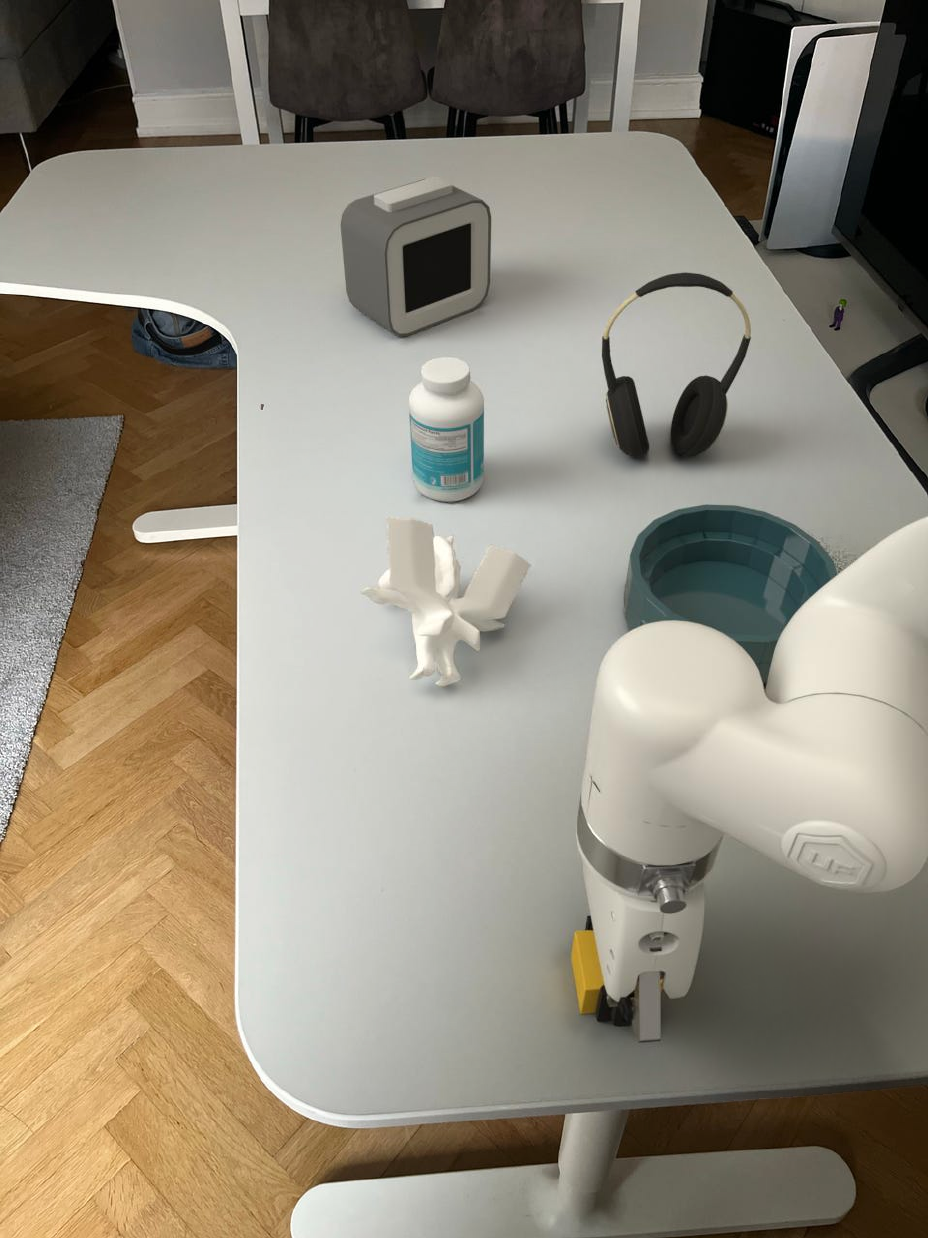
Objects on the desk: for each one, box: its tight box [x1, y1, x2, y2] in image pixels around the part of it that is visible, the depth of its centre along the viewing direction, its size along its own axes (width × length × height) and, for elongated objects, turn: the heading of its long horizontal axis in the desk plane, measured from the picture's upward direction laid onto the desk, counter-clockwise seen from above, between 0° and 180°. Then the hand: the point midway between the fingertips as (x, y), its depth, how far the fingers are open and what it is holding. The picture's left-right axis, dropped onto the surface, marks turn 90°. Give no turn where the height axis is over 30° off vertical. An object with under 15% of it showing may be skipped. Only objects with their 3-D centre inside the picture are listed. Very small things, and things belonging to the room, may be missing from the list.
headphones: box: [601, 271, 752, 458], centre depth 101 cm, size 9×15×20 cm, turn 90°
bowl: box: [623, 504, 839, 684], centre depth 87 cm, size 18×18×6 cm
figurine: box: [361, 516, 532, 687], centre depth 85 cm, size 15×12×14 cm
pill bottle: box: [408, 356, 485, 502], centre depth 99 cm, size 8×7×14 cm
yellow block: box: [570, 929, 664, 1015], centre depth 64 cm, size 4×5×4 cm
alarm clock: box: [340, 175, 492, 338], centre depth 126 cm, size 16×11×16 cm
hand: (613, 979), depth 65 cm, fingers closed on yellow block, 4 cm apart
